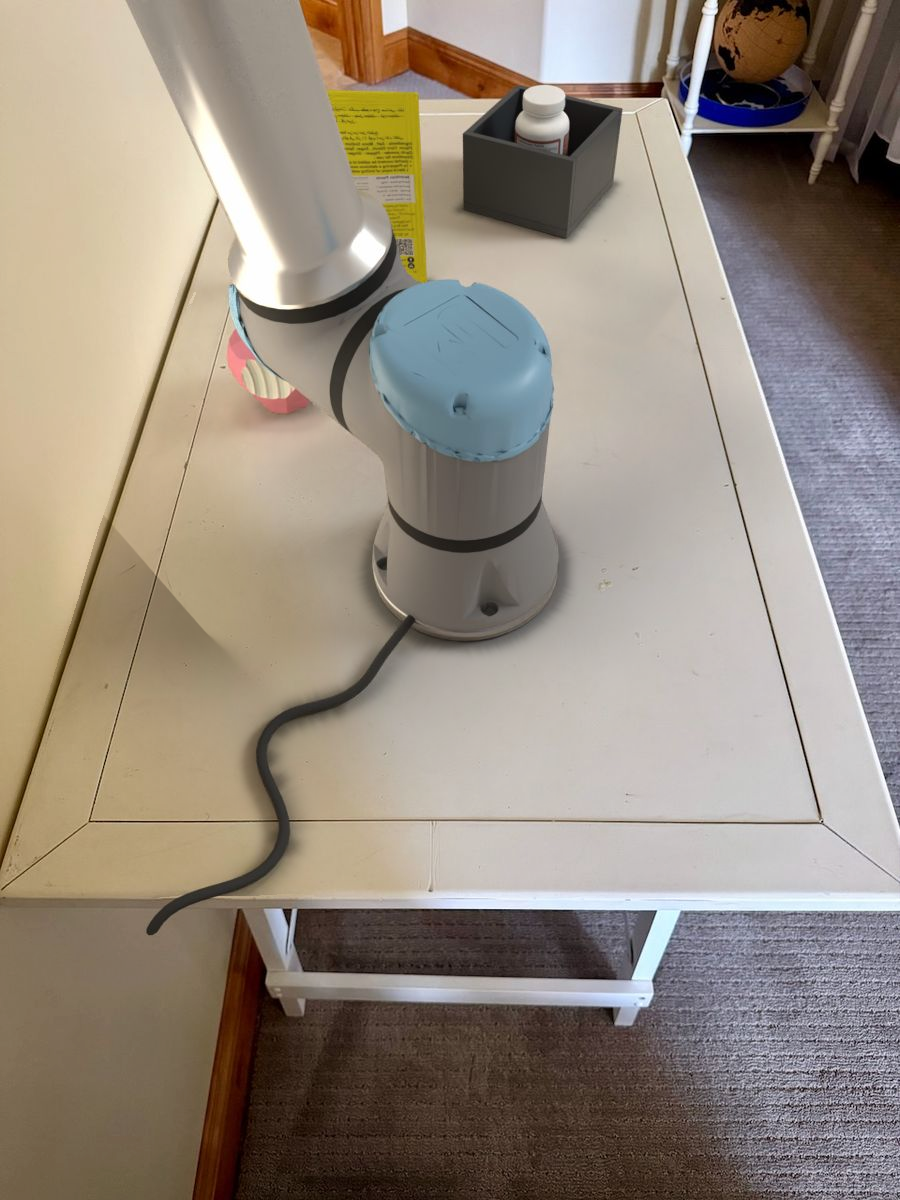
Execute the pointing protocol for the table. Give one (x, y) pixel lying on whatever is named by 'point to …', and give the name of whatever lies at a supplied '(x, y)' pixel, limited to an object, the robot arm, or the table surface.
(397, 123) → the food package
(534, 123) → the pill bottle
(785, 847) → the table surface
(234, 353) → the apple
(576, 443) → the table surface
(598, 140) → the trash bin
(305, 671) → the table surface
